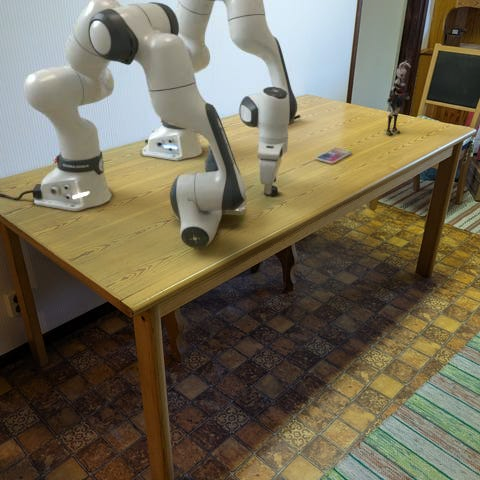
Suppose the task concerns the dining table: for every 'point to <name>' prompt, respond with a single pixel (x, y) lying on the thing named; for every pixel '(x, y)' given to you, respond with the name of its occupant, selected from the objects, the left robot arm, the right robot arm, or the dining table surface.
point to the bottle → (210, 162)
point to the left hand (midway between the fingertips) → (214, 189)
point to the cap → (273, 191)
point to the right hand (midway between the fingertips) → (270, 187)
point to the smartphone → (333, 155)
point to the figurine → (397, 97)
